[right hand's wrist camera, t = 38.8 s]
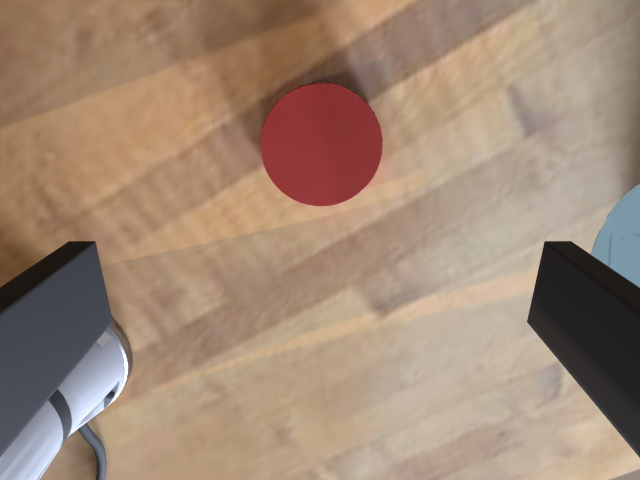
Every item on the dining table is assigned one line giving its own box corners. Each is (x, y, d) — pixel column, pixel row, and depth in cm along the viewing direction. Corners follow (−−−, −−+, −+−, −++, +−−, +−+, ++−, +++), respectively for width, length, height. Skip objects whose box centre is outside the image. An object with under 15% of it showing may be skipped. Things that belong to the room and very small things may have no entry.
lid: (313, 221, 39) (312, 229, 37) (238, 135, 36) (234, 139, 34) (402, 152, 37) (407, 157, 35) (330, 54, 34) (331, 53, 32)
